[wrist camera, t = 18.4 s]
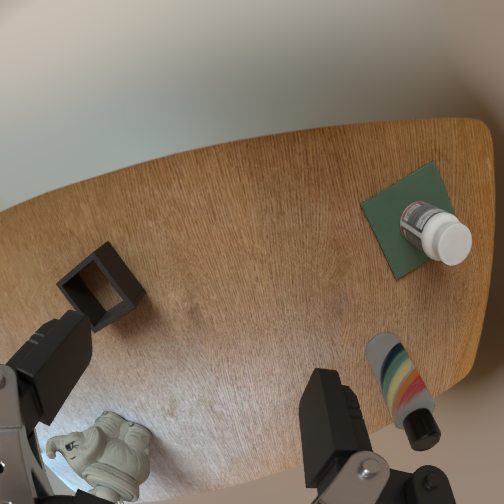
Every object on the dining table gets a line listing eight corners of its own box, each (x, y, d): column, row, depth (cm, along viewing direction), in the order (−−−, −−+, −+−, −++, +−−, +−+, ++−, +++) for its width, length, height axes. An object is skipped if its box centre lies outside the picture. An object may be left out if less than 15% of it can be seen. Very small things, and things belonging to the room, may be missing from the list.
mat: (359, 204, 38) (360, 205, 38) (432, 160, 36) (434, 161, 35) (394, 278, 42) (396, 280, 41) (460, 235, 39) (462, 237, 39)
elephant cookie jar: (69, 399, 53) (30, 464, 35) (121, 392, 51) (84, 471, 33) (113, 448, 58) (88, 511, 40) (166, 445, 56) (146, 519, 38)
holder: (70, 271, 43) (55, 284, 39) (108, 240, 41) (93, 251, 37) (106, 317, 45) (94, 333, 41) (146, 292, 43) (135, 307, 39)
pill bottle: (433, 240, 39) (472, 268, 30) (398, 243, 39) (431, 274, 30) (435, 199, 37) (477, 218, 28) (399, 201, 37) (436, 221, 28)
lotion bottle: (403, 348, 46) (452, 441, 27) (372, 366, 47) (411, 464, 28) (391, 325, 44) (446, 421, 25) (359, 344, 45) (399, 447, 27)
